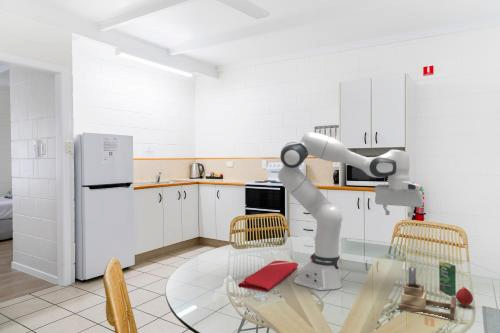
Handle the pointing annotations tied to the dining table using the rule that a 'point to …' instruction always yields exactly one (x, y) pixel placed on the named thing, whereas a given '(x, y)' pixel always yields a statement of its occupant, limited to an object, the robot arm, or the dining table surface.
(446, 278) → the coffee box
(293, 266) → the red folded cloth
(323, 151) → the robot arm
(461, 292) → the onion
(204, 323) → the dining table surface
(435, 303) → the bay
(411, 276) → the handle peg
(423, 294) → the crate
